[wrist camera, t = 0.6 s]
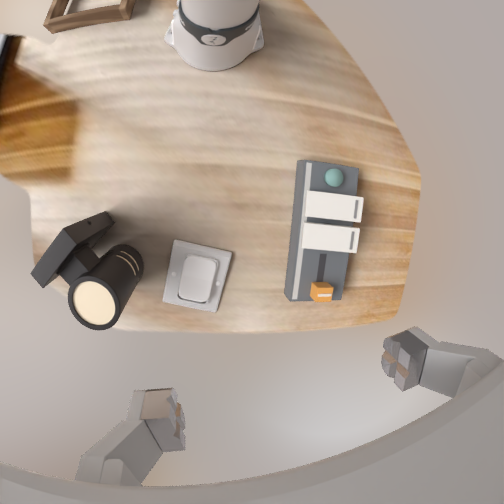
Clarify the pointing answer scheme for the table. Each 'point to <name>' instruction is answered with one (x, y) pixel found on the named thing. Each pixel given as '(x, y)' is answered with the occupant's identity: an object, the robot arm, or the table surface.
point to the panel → (312, 260)
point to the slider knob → (321, 291)
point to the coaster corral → (85, 15)
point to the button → (333, 177)
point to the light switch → (196, 275)
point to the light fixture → (91, 272)
